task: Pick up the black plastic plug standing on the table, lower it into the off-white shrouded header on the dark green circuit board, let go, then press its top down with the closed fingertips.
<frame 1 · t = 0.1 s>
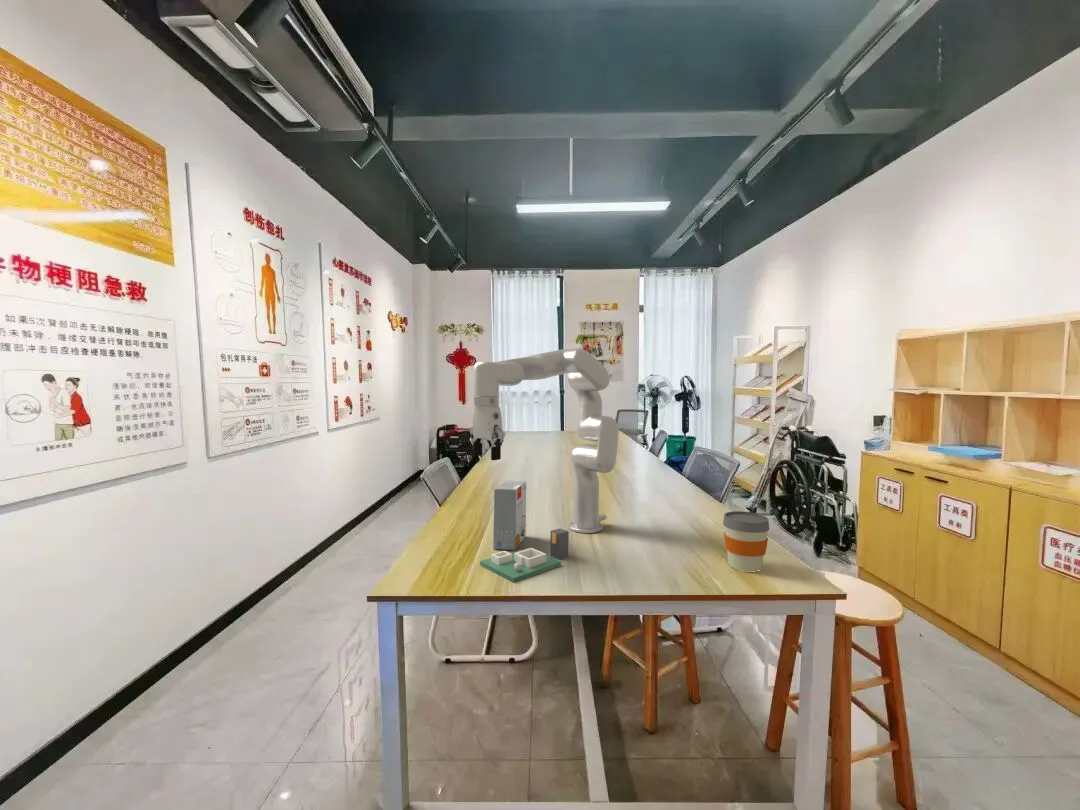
hand: (486, 457, 145), 31 cm above the table, fingers open, 9 cm apart
header: (530, 565, 140), resting on board
plug: (559, 556, 148), on the table
board: (520, 565, 140), on the table
hard drive box: (510, 543, 160), on the table
reusable coffee cup: (744, 567, 140), on the table
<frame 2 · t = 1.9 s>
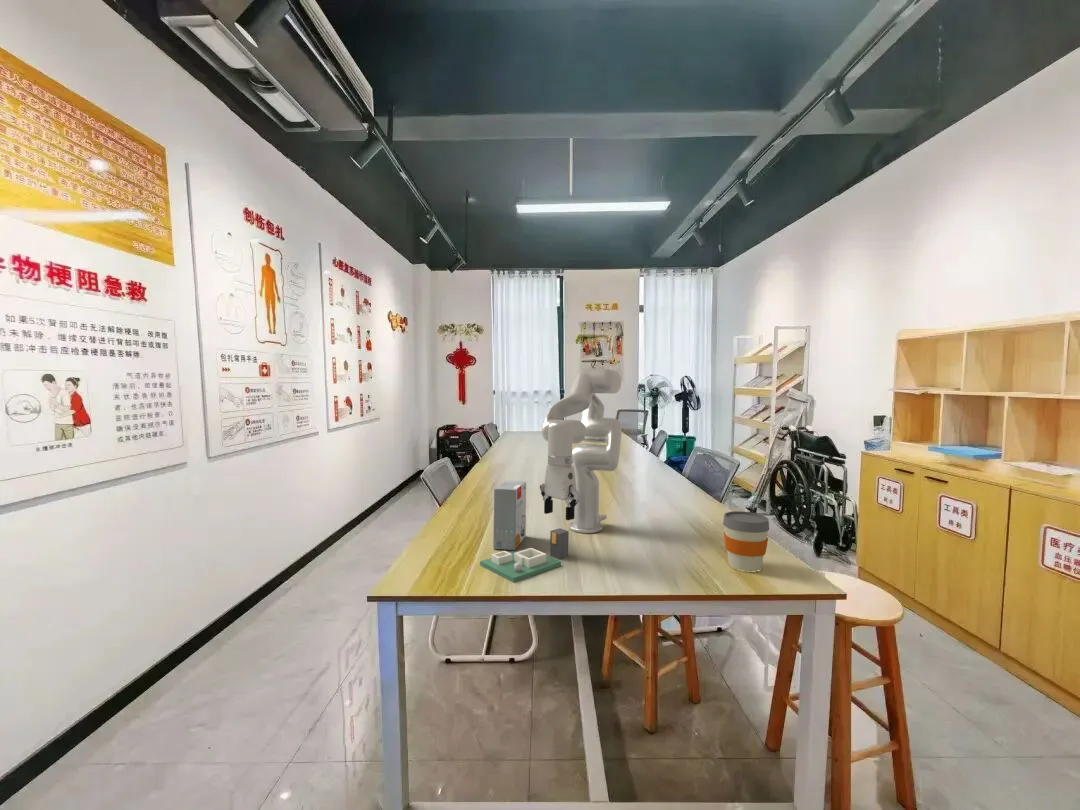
hand: (558, 516, 146), 13 cm above the table, fingers open, 9 cm apart
nothing on the table moved.
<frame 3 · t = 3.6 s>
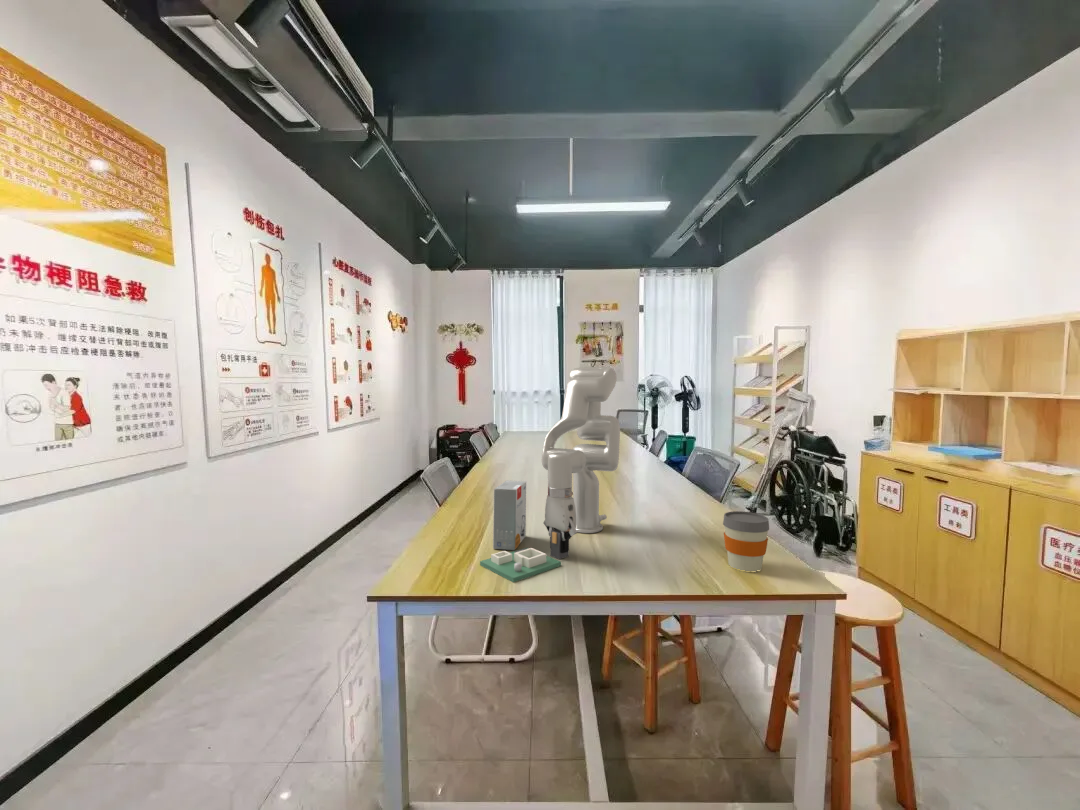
hand: (559, 549, 148), 2 cm above the table, fingers closed on plug, 3 cm apart
plug: (559, 555, 148), on the table, touching gripper
everything else where it was.
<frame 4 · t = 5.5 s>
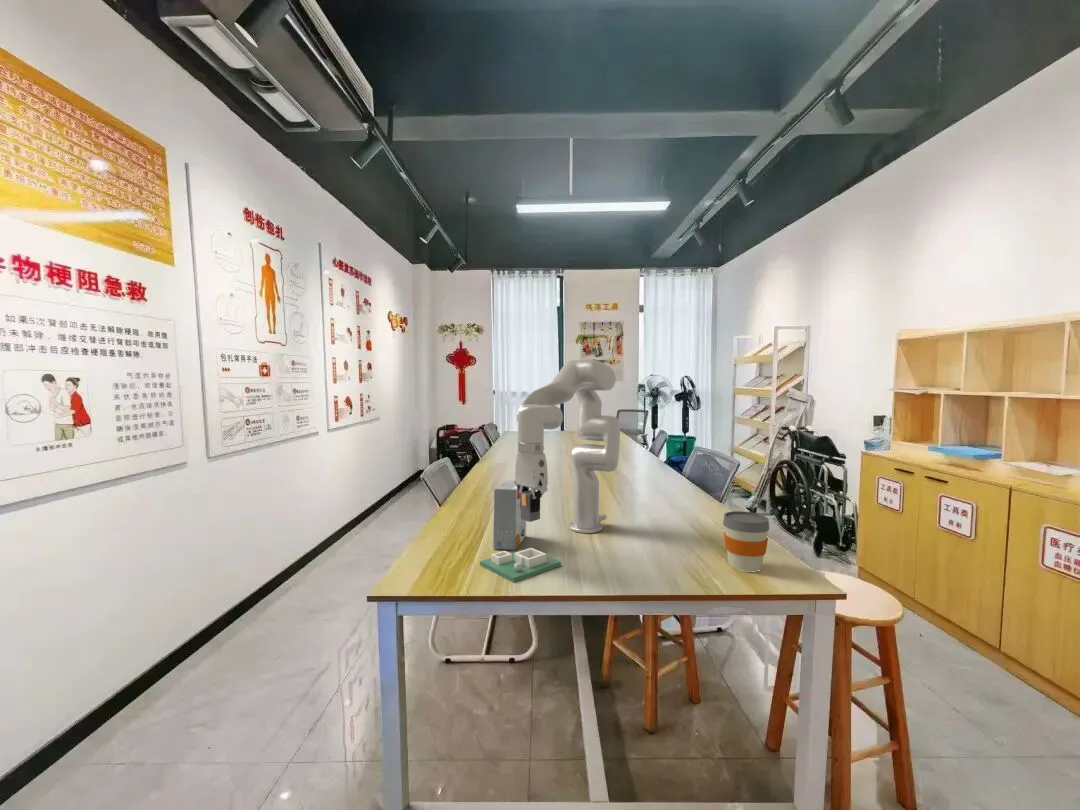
hand: (530, 509, 139), 17 cm above the table, fingers closed on plug, 4 cm apart
plug: (530, 519, 139), point 14 cm above the table, touching gripper
everything else where it was.
when the fingers open (4 cm above the table, at t = 7.4 s): plug stays where it is, resting on board.
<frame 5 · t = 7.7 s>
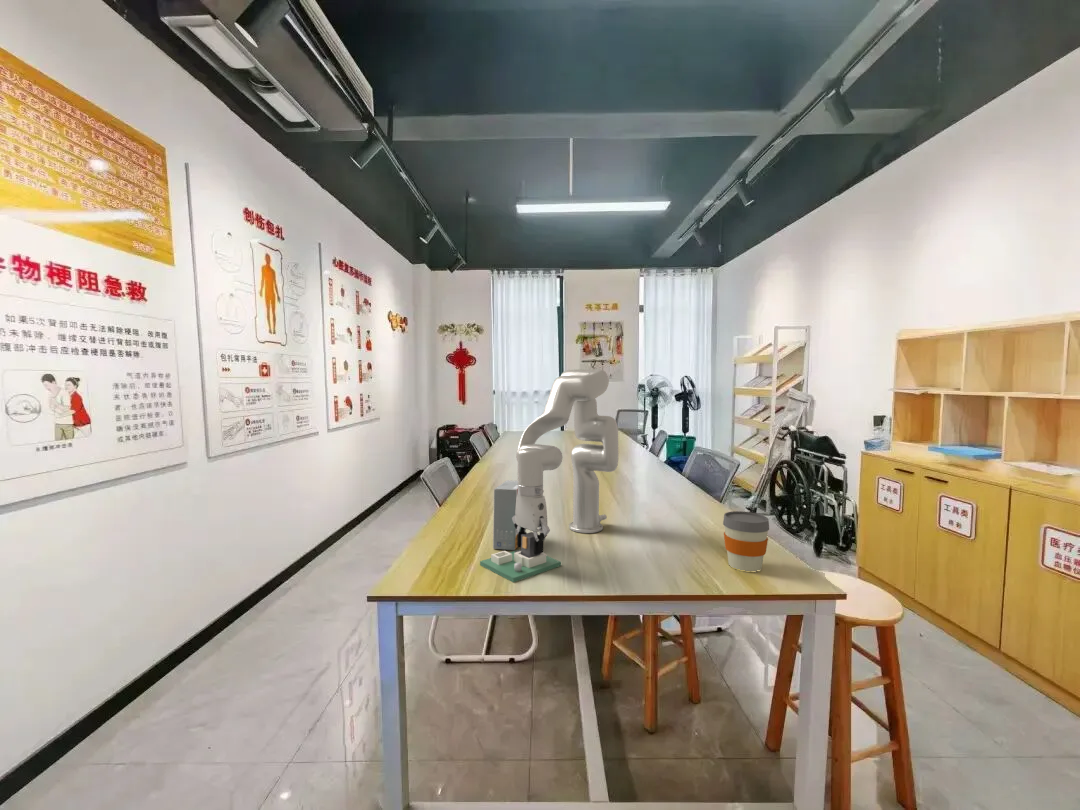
hand: (530, 549, 139), 5 cm above the table, fingers open, 7 cm apart
plug: (530, 561, 140), point 1 cm above the table, touching board
everything else where it was.
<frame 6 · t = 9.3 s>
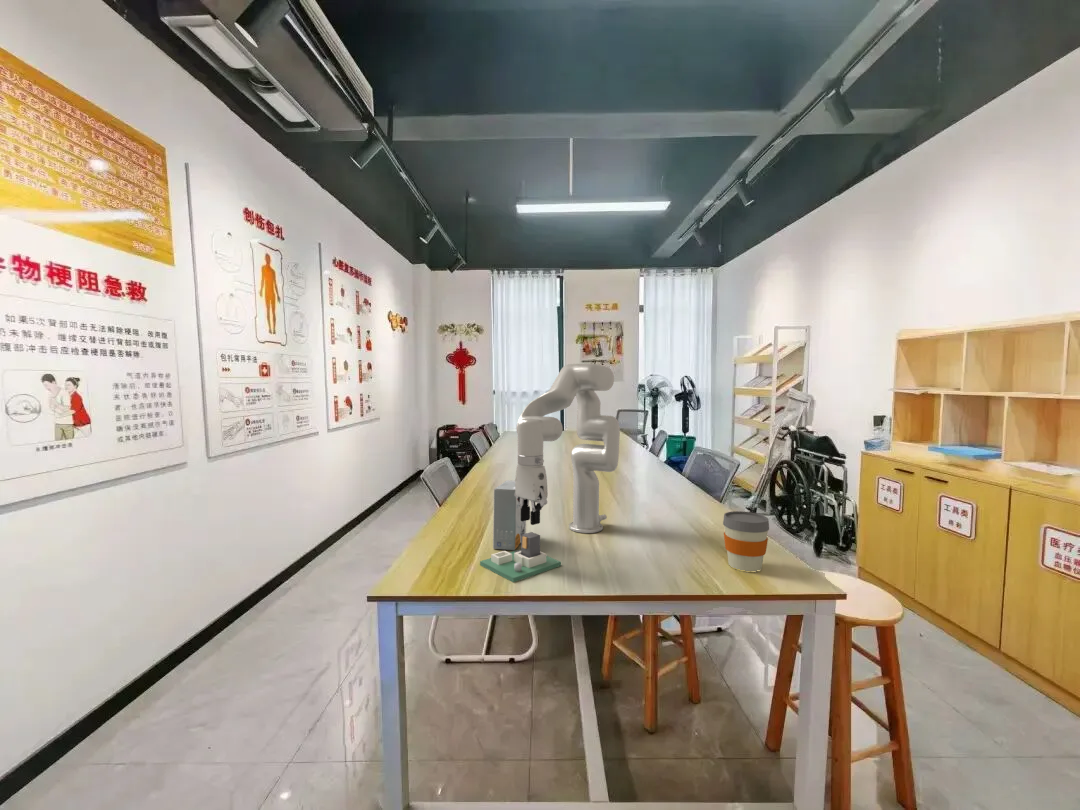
hand: (530, 521, 139), 13 cm above the table, fingers open, 3 cm apart
nothing on the table moved.
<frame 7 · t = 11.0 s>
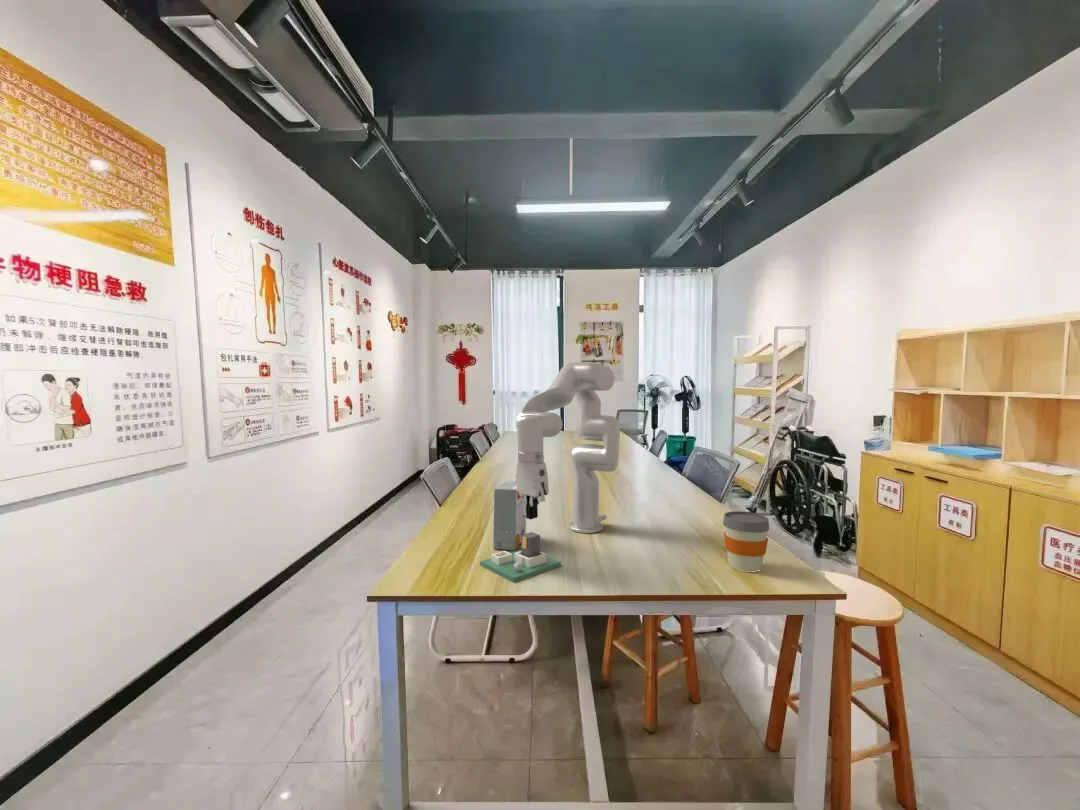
hand: (531, 517, 140), 14 cm above the table, fingers closed
nothing on the table moved.
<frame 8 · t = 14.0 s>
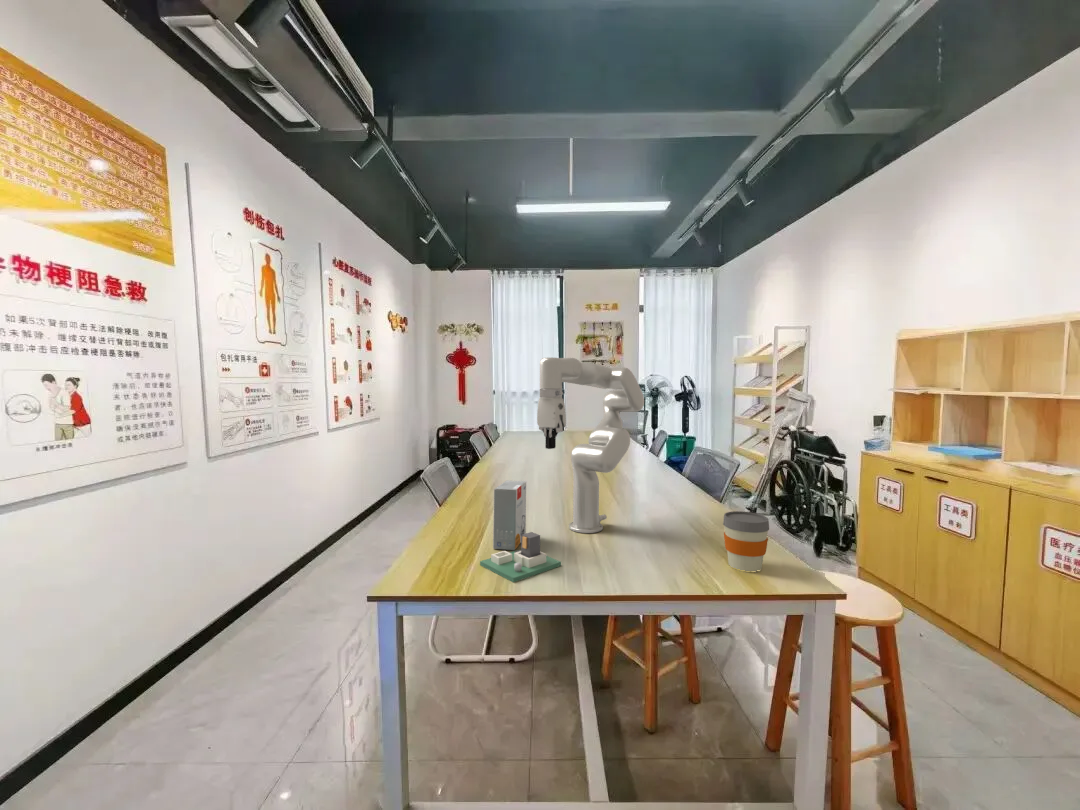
hand: (550, 448, 160), 32 cm above the table, fingers closed
nothing on the table moved.
at the end: plug 0.2 cm off-centre on the header, point 1.2 cm above the header's base; plug tilted 0°; the gripper is holding nothing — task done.
